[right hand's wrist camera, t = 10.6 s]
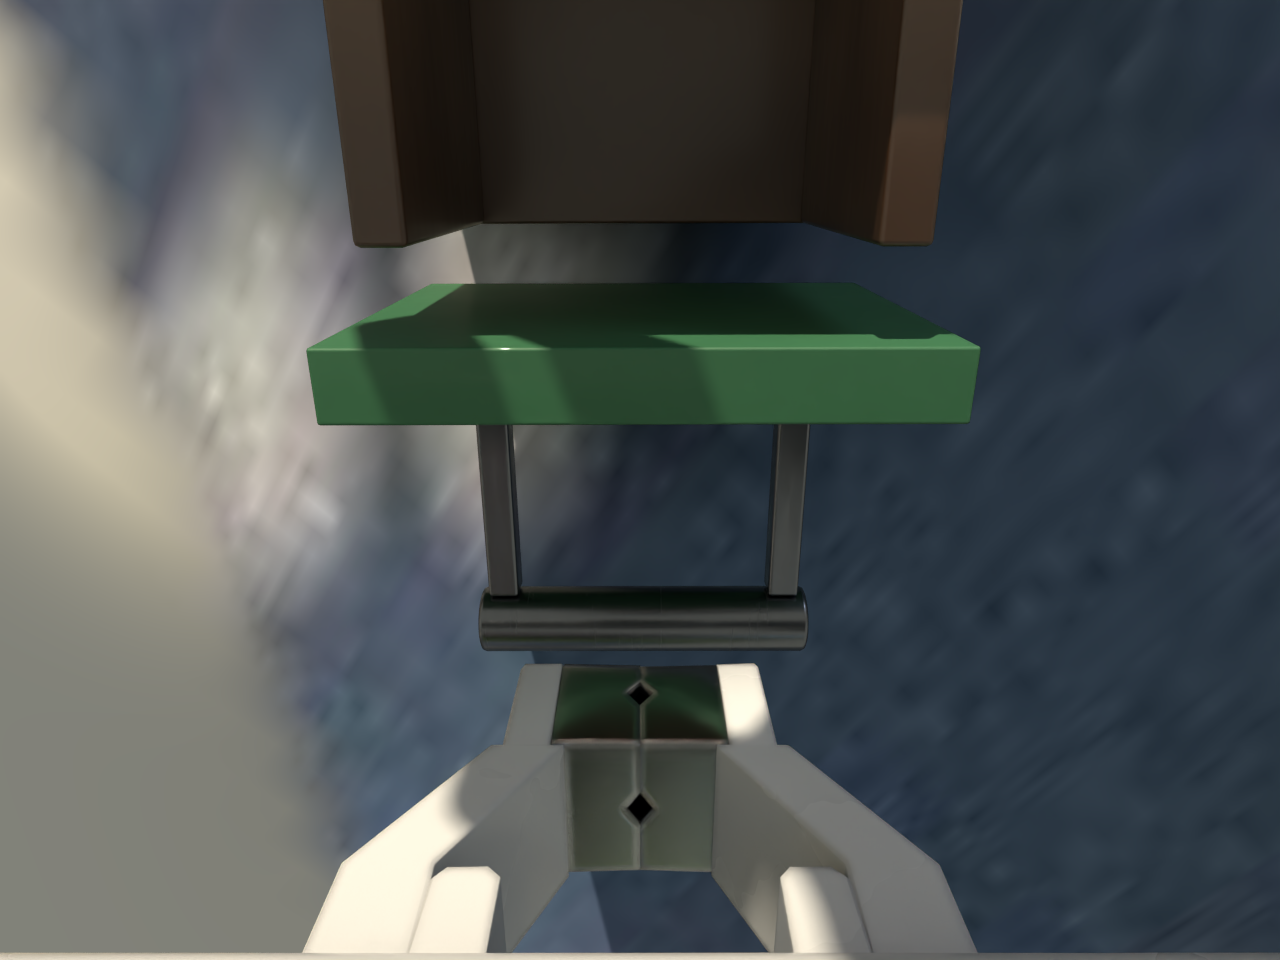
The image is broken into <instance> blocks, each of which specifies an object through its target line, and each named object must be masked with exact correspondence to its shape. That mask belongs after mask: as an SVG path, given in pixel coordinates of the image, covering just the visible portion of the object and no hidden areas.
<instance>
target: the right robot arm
mask: <svg viewBox="0 0 1280 960" xmlns="http://www.w3.org/2000/svg"><path fill="white" fill-rule="evenodd" d="M617 870H661V871H697V872H712V873H711V875H712V877H713V878H714V880H715V881H716V882H717V884H718V885H719V886H720V888H721V889H722V890H723V892H724V893H725V894H726V896H727V897H728V898H729V900H730V901H731V903H732V904H733V905H734V907H735V908H736V909H737V911H738V912H739V913H740V915H741V916H742V917H743V919H744V920H745V921H746V923H747V924H748V925H749V927H750V928H751V930H752V931H753V932H754V934H755V935H756V936H757V938H758V939H759V940H760V942H761V943H762V944H763V946H764V947H765V948H766V950H767V951H768V952H769V953H512V952H513V950H514V949H515V948H516V946H517V945H518V944H519V942H520V941H521V940H522V938H523V937H524V936H525V934H526V933H527V931H528V930H529V929H530V927H531V926H532V925H533V923H534V922H535V921H536V919H537V918H538V917H539V915H540V914H541V913H542V911H543V910H544V909H545V907H546V906H547V905H548V903H549V902H550V901H551V899H552V898H553V897H554V895H555V894H556V893H557V891H558V890H559V888H560V887H561V886H562V884H563V883H564V882H565V880H566V879H567V878H568V876H569V872H583V871H617ZM0 960H1280V953H978V952H977V950H976V948H975V945H974V943H973V941H972V939H971V936H970V934H969V932H968V929H967V927H966V925H965V922H964V920H963V918H962V915H961V913H960V911H959V909H958V906H957V904H956V902H955V899H954V897H953V895H952V892H951V890H950V888H949V885H948V883H947V881H946V879H945V876H944V874H943V872H942V869H941V867H940V865H939V864H938V863H937V862H936V861H934V860H933V859H932V858H931V857H929V856H928V855H927V854H926V853H924V852H923V851H922V850H920V849H919V848H918V847H917V846H915V845H914V844H913V843H912V842H910V841H909V840H908V839H907V838H905V837H904V836H903V835H902V834H900V833H899V832H898V831H897V830H895V829H894V828H893V827H891V826H890V825H889V824H888V823H886V822H885V821H884V820H883V819H881V818H880V817H879V816H878V815H876V814H875V813H874V812H873V811H871V810H870V809H869V808H867V807H866V806H865V805H864V804H862V803H861V802H860V801H859V800H857V799H856V798H855V797H854V796H852V795H851V794H850V793H849V792H847V791H846V790H845V789H843V788H842V787H841V786H840V785H838V784H837V783H836V782H835V781H833V780H832V779H831V778H830V777H828V776H827V775H826V774H825V773H823V772H822V771H821V770H819V769H818V768H817V767H816V766H814V765H813V764H812V763H811V762H809V761H808V760H807V759H806V758H804V757H803V756H802V755H801V754H799V753H798V752H797V751H795V750H794V749H793V748H792V747H790V746H789V745H777V742H776V738H775V734H774V730H773V726H772V722H771V718H770V714H769V710H768V706H767V702H766V697H765V693H764V689H763V685H762V681H761V677H760V673H759V669H758V667H757V666H756V665H755V664H754V663H749V664H721V665H703V666H652V667H640V666H635V665H586V664H565V665H564V666H563V665H562V664H525V665H524V667H523V668H522V669H521V672H520V676H519V680H518V684H517V689H516V693H515V697H514V701H513V705H512V709H511V713H510V717H509V722H508V726H507V730H506V734H505V738H504V742H503V745H491V746H490V747H488V748H487V749H486V750H485V751H483V752H482V753H481V754H479V755H478V756H477V757H476V758H474V759H473V760H472V761H471V762H469V763H468V764H467V765H466V766H464V767H463V768H462V769H460V770H459V771H458V772H457V773H455V774H454V775H453V776H452V777H450V778H449V779H448V780H446V781H445V782H444V783H443V784H441V785H440V786H439V787H438V788H436V789H435V790H434V791H433V792H431V793H430V794H429V795H427V796H426V797H425V798H424V799H422V800H421V801H420V802H419V803H417V804H416V805H415V806H413V807H412V808H411V809H410V810H408V811H407V812H406V813H405V814H403V815H402V816H401V817H400V818H398V819H397V820H396V821H394V822H393V823H392V824H391V825H389V826H388V827H387V828H386V829H384V830H383V831H382V832H380V833H379V834H378V835H377V836H375V837H374V838H373V839H372V840H370V841H369V842H368V843H367V844H365V845H364V846H363V847H361V848H360V849H359V850H358V851H356V852H355V853H354V854H353V855H351V856H350V857H349V858H348V859H346V860H345V861H344V862H342V863H341V866H340V868H339V870H338V873H337V875H336V877H335V879H334V882H333V884H332V886H331V888H330V891H329V893H328V895H327V898H326V900H325V902H324V904H323V907H322V909H321V911H320V914H319V916H318V918H317V920H316V923H315V925H314V927H313V930H312V932H311V934H310V936H309V939H308V941H307V943H306V945H305V948H304V950H303V952H302V953H0Z"/></svg>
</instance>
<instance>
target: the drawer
mask: <svg viewBox="0 0 1280 960" xmlns="http://www.w3.org/2000/svg"><path fill="white" fill-rule="evenodd" d="M323 5H324V13H325V21H326V29H327V37H328V45H329V53H330V61H331V69H332V77H333V84H334V92H335V100H336V108H337V116H338V124H339V132H340V140H341V148H342V156H343V163H344V171H345V179H346V187H347V195H348V203H349V211H350V219H351V227H352V235H353V241H354V243H355V245H356V246H358V247H360V248H403V247H406V246H410V245H413V244H416V243H420V242H423V241H426V240H429V239H433V238H436V237H439V236H442V235H446V234H449V233H452V232H456V231H459V230H462V229H465V228H469V227H472V226H475V225H479V224H576V223H806V224H809V225H813V226H816V227H820V228H823V229H826V230H830V231H833V232H836V233H840V234H843V235H847V236H850V237H853V238H857V239H860V240H864V241H867V242H870V243H874V244H877V245H880V246H928V245H931V244H932V242H933V239H934V231H935V223H936V215H937V207H938V199H939V191H940V183H941V175H942V167H943V159H944V151H945V142H946V134H947V126H948V118H949V110H950V102H951V94H952V86H953V78H954V70H955V62H956V54H957V46H958V37H959V29H960V21H961V13H962V5H963V0H323ZM980 351H981V349H980V347H979V346H977V345H975V344H973V343H971V342H969V341H967V340H965V339H963V338H961V337H959V336H957V335H955V334H953V333H951V332H949V331H947V330H945V329H943V328H942V327H940V326H938V325H936V324H934V323H932V322H930V321H928V320H926V319H924V318H922V317H920V316H918V315H916V314H914V313H912V312H910V311H908V310H906V309H904V308H902V307H900V306H898V305H896V304H894V303H892V302H890V301H888V300H886V299H885V298H883V297H881V296H879V295H877V294H875V293H873V292H871V291H869V290H867V289H865V288H863V287H861V286H859V285H857V284H855V283H586V284H431V285H429V286H427V287H425V288H423V289H421V290H419V291H417V292H415V293H413V294H411V295H410V296H408V297H406V298H404V299H402V300H400V301H398V302H396V303H394V304H392V305H390V306H388V307H386V308H385V309H383V310H381V311H379V312H377V313H375V314H373V315H371V316H369V317H367V318H365V319H363V320H361V321H360V322H358V323H356V324H354V325H352V326H350V327H348V328H346V329H344V330H342V331H340V332H338V333H336V334H335V335H333V336H331V337H329V338H327V339H325V340H323V341H321V342H319V343H317V344H315V345H313V346H312V347H310V348H308V349H307V358H308V364H309V371H310V377H311V384H312V390H313V397H314V403H315V410H316V416H317V423H318V425H476V431H477V444H478V456H479V469H480V482H481V494H482V507H483V519H484V532H485V544H486V557H487V569H488V582H489V587H487V588H485V589H484V591H483V593H482V596H481V600H480V607H479V638H480V643H481V646H482V648H483V649H484V650H486V651H800V650H803V649H804V648H805V646H806V642H807V638H808V607H807V601H806V596H805V593H804V591H803V589H802V588H801V587H799V586H798V579H799V566H800V552H801V539H802V526H803V513H804V500H805V487H806V474H807V461H808V448H809V435H810V424H967V423H969V422H970V417H971V410H972V404H973V397H974V391H975V384H976V377H977V371H978V364H979V357H980ZM675 424H774V429H773V446H772V462H771V479H770V496H769V513H768V529H767V546H766V563H765V580H764V582H765V585H766V586H521V584H522V569H521V553H520V538H519V522H518V506H517V490H516V474H515V458H514V442H513V426H512V425H675Z"/></svg>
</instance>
